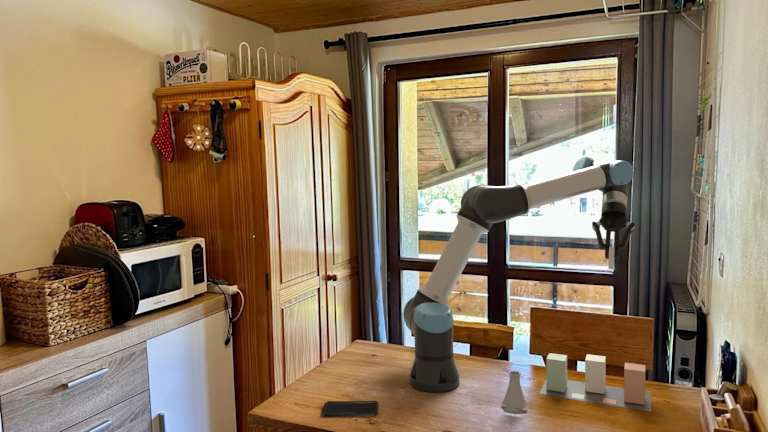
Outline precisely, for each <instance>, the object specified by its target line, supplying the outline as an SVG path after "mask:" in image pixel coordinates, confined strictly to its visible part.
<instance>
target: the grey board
mask: <svg viewBox="0 0 768 432" xmlns="http://www.w3.org/2000/svg"><path fill="white" fill-rule="evenodd" d="M539 395H543V396H549V397H557V398H561V399H562V398H563V399H569V400H575V401H581V402H587V403H594V404H600V405H606V406H613V407H619V408H625V409H631V410H637V411H644V412H652V394H651V391H646V390H645V405H642V404H636V403H629V402H624V387H618V386H611V385H605V393H604V394H601V393H594V392H587V391H585V381H584V382H583V381H576V380H569V379H567V388H566V391H565V392H559V391H552V390H546V378H545V379H544V381H543V384H542V387H541V388H540V391H539Z"/></svg>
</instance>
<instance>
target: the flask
mask: <svg viewBox="0 0 768 432" xmlns="http://www.w3.org/2000/svg"><path fill="white" fill-rule="evenodd" d="M508 375H509V381H508V387H507V389H506V393H505V395H504V397H503V400H502V404H503V405H504V406H503V405H501V406H500V408H501V409H502V410H503V411H504V412H505V413H511V414H515V415H516V414H517V415H518V414H519V415H520V414H526V413H527V412H528V410H526V409H525V408H526V407H527V405H528V403H527V401H526V398H525V395H524V393H523V392H524V391H523V389H522V386H521V379H520V377H521V375H522V373H521V372H520V371H518V370H509V371H508Z"/></svg>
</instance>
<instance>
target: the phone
mask: <svg viewBox="0 0 768 432" xmlns="http://www.w3.org/2000/svg"><path fill="white" fill-rule="evenodd" d="M322 407H323V408H322V410H321V416H322V417H323V418H344V417H345V418H348V417H349V418H351V417H352V418H353V417H354V418H356V417H358V418H359V417H360V418H361V417H363V418H364V417H365V418H366V417H367V418H369V417H370V416H374V417H377V416H378V414H379V402H378V401H377V400H354V401H351V400H346V401H344V400H343V401H342V400H340V401H339V400H336V401H334V400H333V401H330V400H328V401H326V402H324V403H323V406H322Z"/></svg>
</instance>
